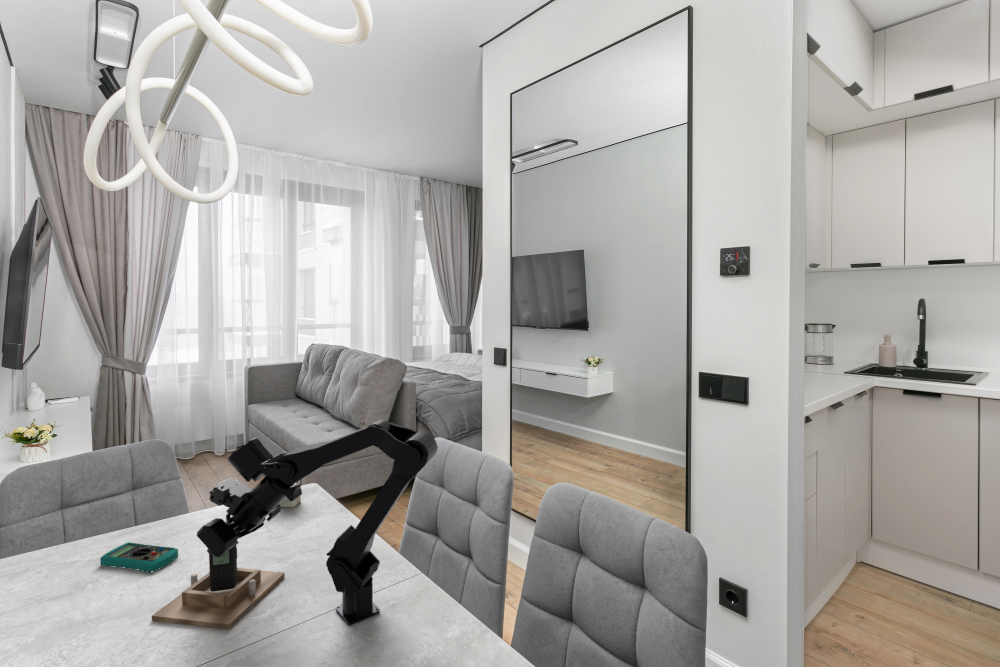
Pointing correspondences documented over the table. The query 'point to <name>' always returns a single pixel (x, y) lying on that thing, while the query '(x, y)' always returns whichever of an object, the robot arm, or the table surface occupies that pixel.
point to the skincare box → (288, 503)
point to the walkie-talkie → (223, 569)
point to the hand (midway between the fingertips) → (216, 547)
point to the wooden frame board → (218, 600)
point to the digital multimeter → (139, 556)
